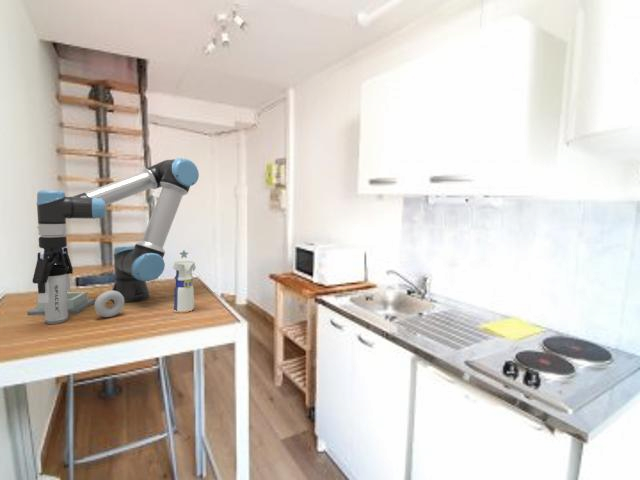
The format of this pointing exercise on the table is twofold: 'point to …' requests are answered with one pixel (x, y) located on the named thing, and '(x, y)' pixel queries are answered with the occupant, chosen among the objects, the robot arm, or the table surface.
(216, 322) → the table surface
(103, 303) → the donut
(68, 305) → the dock
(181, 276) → the water bottle
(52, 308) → the travel mug
